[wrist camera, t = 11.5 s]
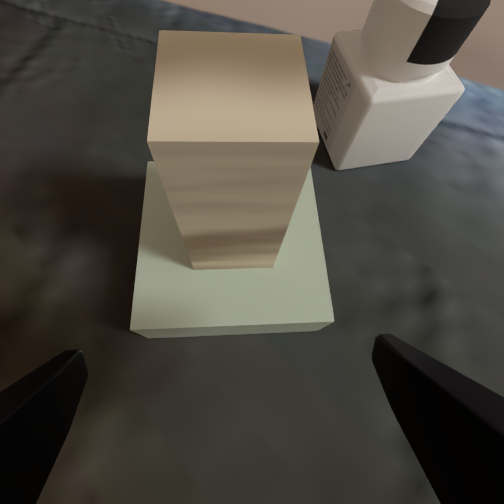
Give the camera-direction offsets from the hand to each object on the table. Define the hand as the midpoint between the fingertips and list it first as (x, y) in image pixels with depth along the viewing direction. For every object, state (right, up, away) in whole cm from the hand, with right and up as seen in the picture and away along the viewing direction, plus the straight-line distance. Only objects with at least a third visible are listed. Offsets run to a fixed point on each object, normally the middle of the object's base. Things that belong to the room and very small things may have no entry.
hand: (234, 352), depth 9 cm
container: (+11, +15, +20) cm, 27 cm away
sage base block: (-1, +3, +14) cm, 15 cm away
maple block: (-1, +4, +11) cm, 12 cm away
